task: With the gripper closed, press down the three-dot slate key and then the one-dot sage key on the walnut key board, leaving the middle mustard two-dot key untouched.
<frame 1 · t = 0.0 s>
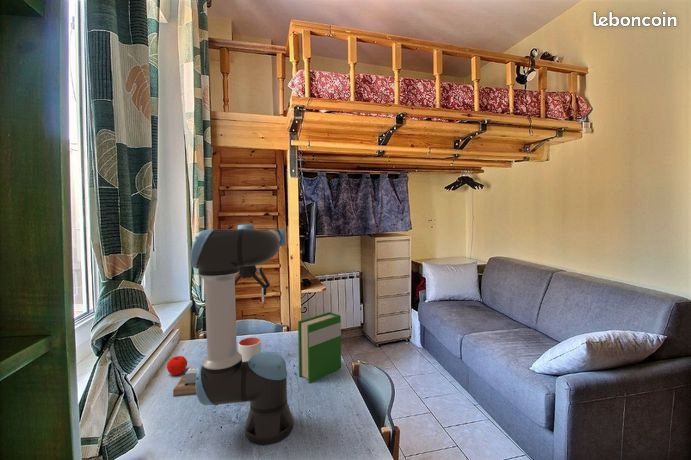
hand: (248, 302, 146), 28 cm above the table, fingers open, 13 cm apart
apple: (177, 373, 137), on the table
key one dot: (235, 371, 128), point 5 cm above the table, slide at 0.0 cm
key three dots: (194, 374, 125), point 5 cm above the table, slide at 0.0 cm
key board: (215, 385, 127), on the table
cup: (250, 362, 146), on the table
hardback book: (320, 372, 136), on the table
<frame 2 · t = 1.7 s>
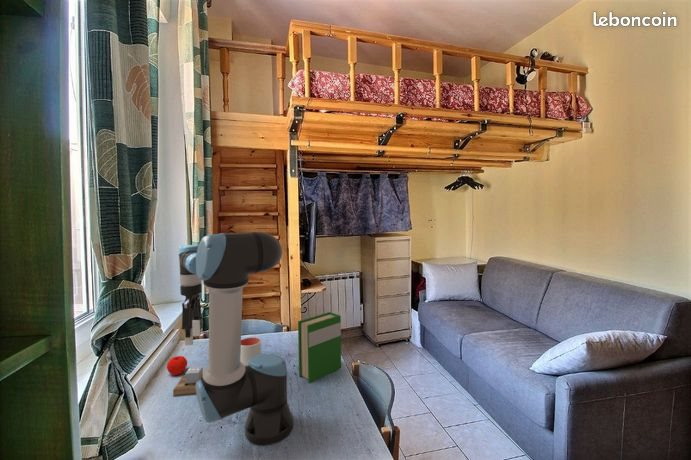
hand: (193, 340, 125), 19 cm above the table, fingers open, 8 cm apart
nothing on the table moved.
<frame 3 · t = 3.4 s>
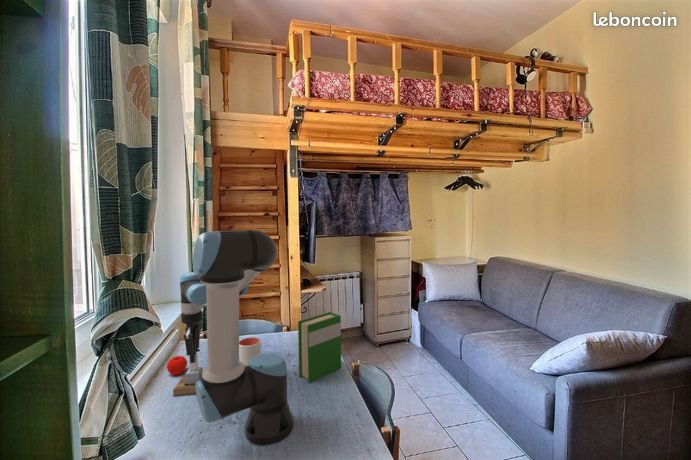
hand: (193, 369, 125), 7 cm above the table, fingers closed
key three dots: (194, 375, 125), point 5 cm above the table, slide at 0.2 cm, touching gripper
everything else where it was.
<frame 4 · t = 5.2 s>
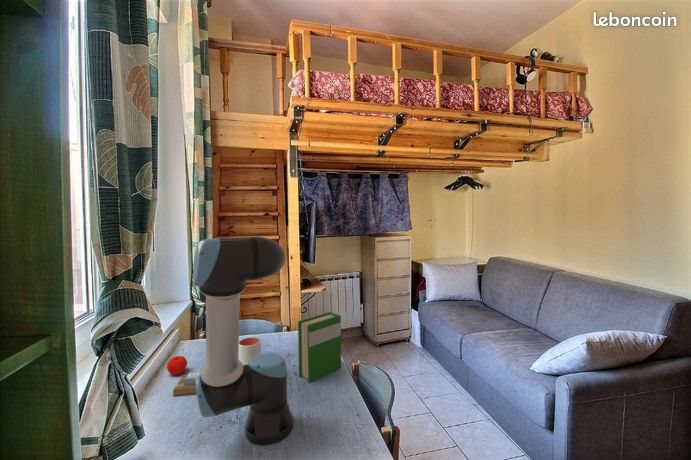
hand: (211, 348, 125), 16 cm above the table, fingers closed
key three dots: (194, 379, 125), point 3 cm above the table, slide at 2.1 cm
everything else where it was.
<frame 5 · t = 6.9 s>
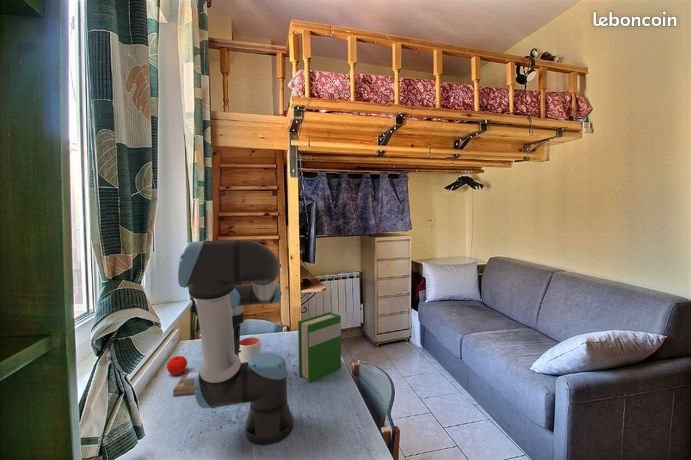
hand: (235, 369, 128), 6 cm above the table, fingers closed
key one dot: (235, 375, 128), point 3 cm above the table, slide at 1.9 cm, touching gripper
everything else where it was.
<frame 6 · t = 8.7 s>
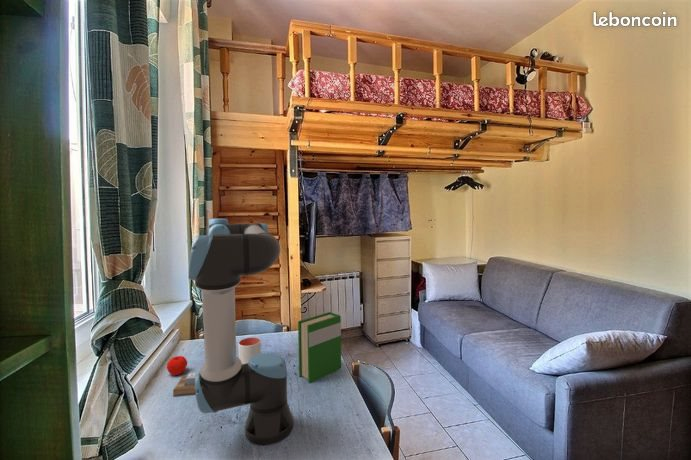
hand: (221, 310, 132), 29 cm above the table, fingers closed
key one dot: (235, 375, 128), point 3 cm above the table, slide at 2.1 cm
everything else where it was.
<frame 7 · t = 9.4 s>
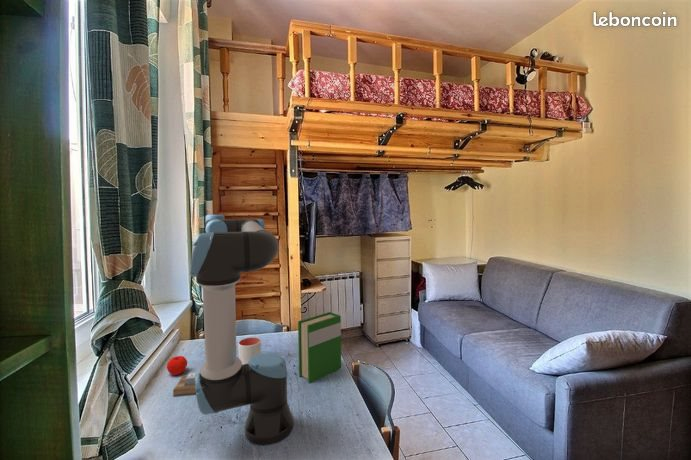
hand: (218, 305, 133), 30 cm above the table, fingers closed
nothing on the table moved.
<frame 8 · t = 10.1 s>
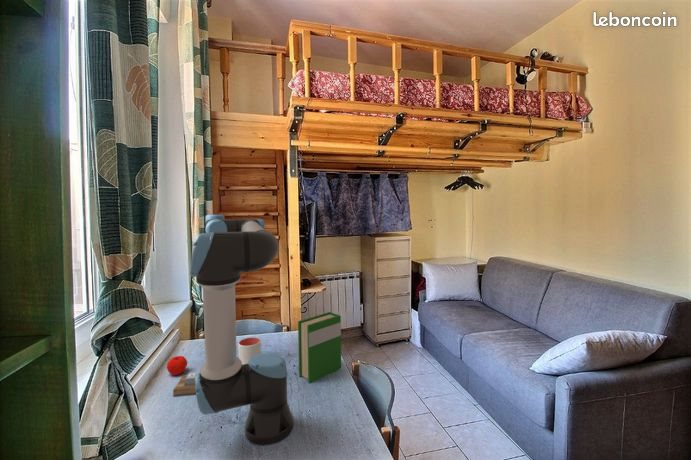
hand: (218, 305, 133), 30 cm above the table, fingers closed
nothing on the table moved.
at the end: key three dots slide at 2.1 cm; key one dot slide at 2.1 cm; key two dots slide at 0.0 cm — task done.
